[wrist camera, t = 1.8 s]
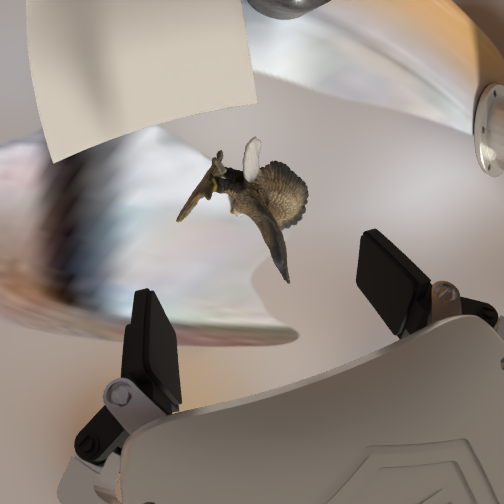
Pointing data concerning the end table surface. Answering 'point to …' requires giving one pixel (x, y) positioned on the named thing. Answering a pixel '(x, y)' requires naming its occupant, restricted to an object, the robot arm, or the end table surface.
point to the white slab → (133, 65)
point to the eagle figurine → (257, 197)
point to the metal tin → (285, 7)
